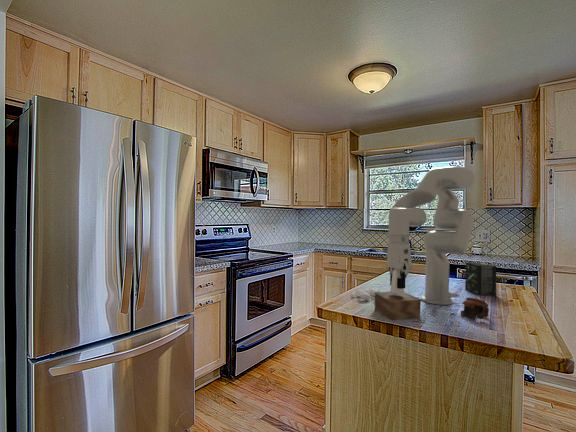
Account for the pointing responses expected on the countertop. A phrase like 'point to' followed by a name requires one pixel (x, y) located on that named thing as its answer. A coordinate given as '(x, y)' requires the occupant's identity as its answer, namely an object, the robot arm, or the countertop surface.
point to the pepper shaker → (395, 283)
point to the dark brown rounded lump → (475, 309)
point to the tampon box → (480, 278)
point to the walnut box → (397, 305)
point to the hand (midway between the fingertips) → (397, 286)
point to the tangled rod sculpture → (365, 293)
